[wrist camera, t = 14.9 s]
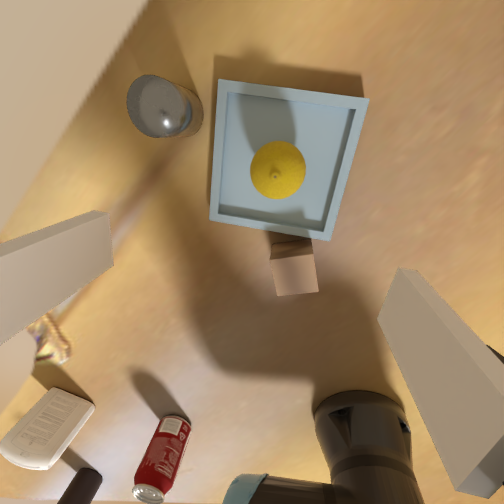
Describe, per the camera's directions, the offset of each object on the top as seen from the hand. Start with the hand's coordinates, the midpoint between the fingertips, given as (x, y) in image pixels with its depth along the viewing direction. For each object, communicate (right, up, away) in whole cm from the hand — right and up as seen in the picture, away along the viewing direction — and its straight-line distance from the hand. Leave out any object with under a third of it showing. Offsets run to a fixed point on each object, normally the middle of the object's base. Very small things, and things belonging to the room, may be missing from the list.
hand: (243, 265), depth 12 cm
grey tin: (-8, +17, +18) cm, 26 cm away
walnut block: (+6, 0, +24) cm, 24 cm away
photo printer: (-38, -30, +44) cm, 65 cm away
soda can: (-15, -34, +42) cm, 57 cm away
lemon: (+4, +11, +18) cm, 21 cm away
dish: (+4, +11, +19) cm, 22 cm away
